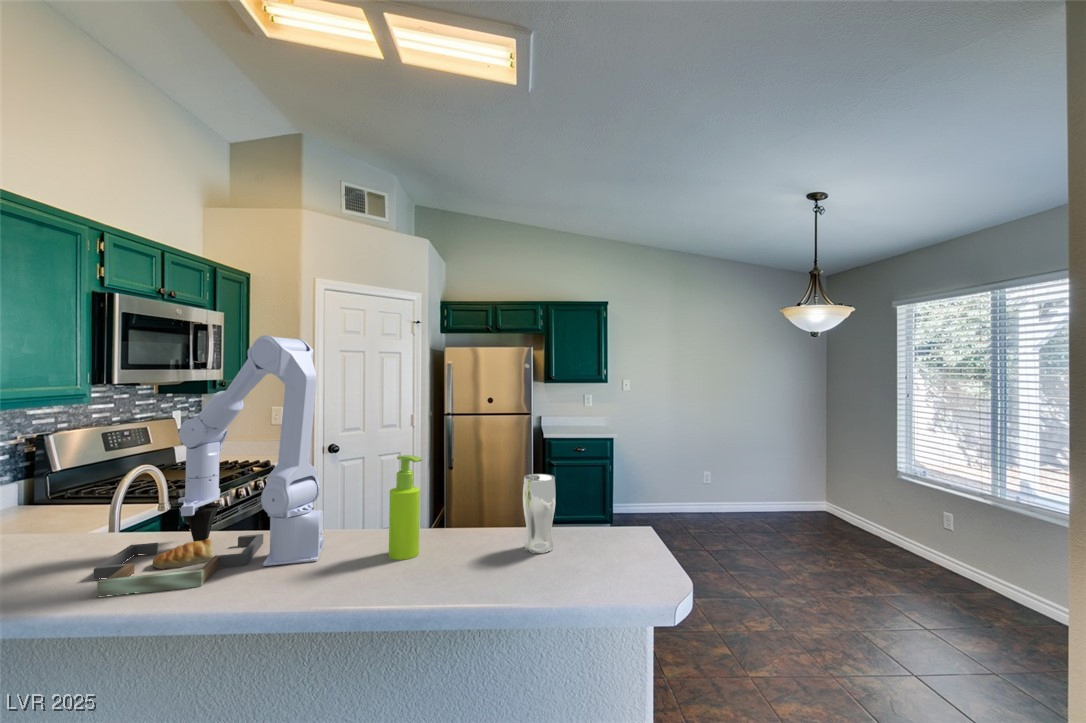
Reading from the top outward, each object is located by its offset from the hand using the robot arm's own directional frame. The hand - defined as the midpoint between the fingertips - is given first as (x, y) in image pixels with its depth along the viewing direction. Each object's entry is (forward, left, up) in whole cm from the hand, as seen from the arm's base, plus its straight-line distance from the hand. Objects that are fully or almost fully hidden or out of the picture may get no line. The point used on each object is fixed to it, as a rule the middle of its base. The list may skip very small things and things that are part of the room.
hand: (200, 541), depth 98 cm
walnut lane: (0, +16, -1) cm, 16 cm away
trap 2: (-9, +7, -1) cm, 12 cm away
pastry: (0, +7, -2) cm, 8 cm away
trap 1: (+10, +7, -1) cm, 12 cm away
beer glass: (-68, +20, -2) cm, 71 cm away
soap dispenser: (-41, +16, -2) cm, 44 cm away
